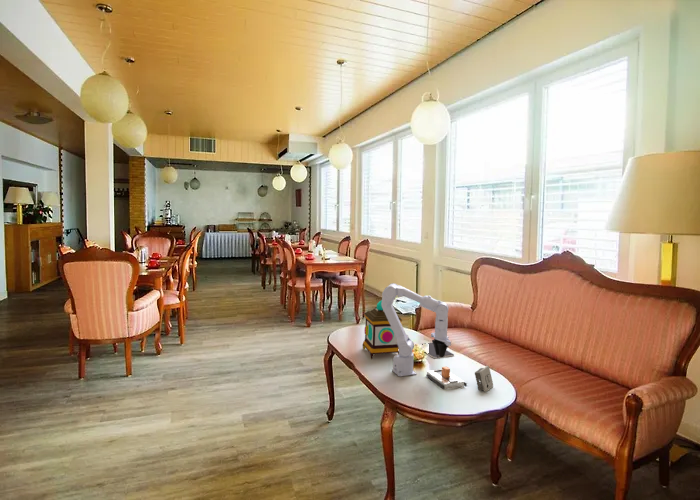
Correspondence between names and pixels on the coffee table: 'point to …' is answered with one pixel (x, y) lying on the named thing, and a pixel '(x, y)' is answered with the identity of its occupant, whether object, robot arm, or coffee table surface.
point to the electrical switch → (484, 379)
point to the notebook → (433, 353)
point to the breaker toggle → (445, 372)
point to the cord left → (435, 381)
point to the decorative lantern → (379, 333)
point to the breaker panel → (446, 379)
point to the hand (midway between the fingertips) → (439, 355)
